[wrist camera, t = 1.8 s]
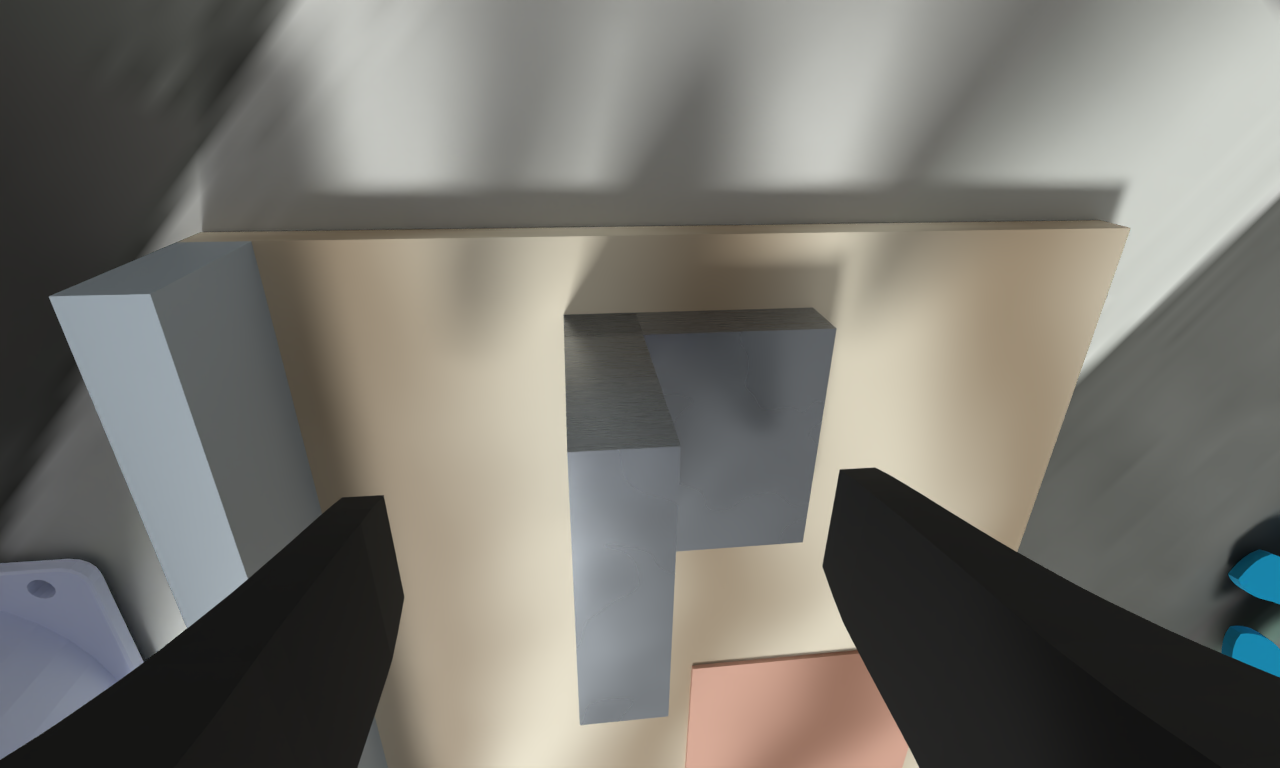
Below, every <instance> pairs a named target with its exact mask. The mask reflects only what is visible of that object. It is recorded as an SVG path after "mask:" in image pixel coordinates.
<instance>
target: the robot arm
mask: <svg viewBox="0 0 1280 768" xmlns="http://www.w3.org/2000/svg"><path fill="white" fill-rule="evenodd" d="M822 567H823V570H824V573H825V576H826V578H827V581H828V584H829V587H830V590H831V593H832V595H833V598H834V601H835V603H836V606H837V608H838V611H839V613H840V616H841V619H842V621H843V623H844V625H845V627H846V629H847V631H848V633H849V635H850V637H851V639H852V641H853V643H854V645H855V647H856V649H857V651H858V653H859V654H860V656H861V658H862V660H863V662H864V664H865V666H866V668H867V670H868V672H869V674H870V675H871V677H872V679H873V681H874V683H875V685H876V687H877V689H878V690H879V692H880V694H881V696H882V698H883V700H884V702H885V703H886V705H887V707H888V709H889V711H890V713H891V715H892V717H893V718H894V720H895V722H896V724H897V726H898V728H899V730H900V732H901V733H902V735H903V737H904V739H905V741H906V743H907V745H908V747H909V748H910V750H911V752H912V754H913V756H914V758H915V760H916V762H917V764H918V766H919V768H1280V677H1278V676H1275V675H1273V674H1270V673H1268V672H1265V671H1263V670H1261V669H1258V668H1256V667H1253V666H1251V665H1248V664H1246V663H1244V662H1241V661H1239V660H1236V659H1234V658H1232V657H1229V656H1227V655H1224V654H1222V653H1220V652H1217V651H1215V650H1212V649H1210V648H1208V647H1205V646H1203V645H1201V644H1198V643H1196V642H1194V641H1192V640H1189V639H1187V638H1185V637H1183V636H1180V635H1178V634H1176V633H1174V632H1171V631H1169V630H1167V629H1165V628H1163V627H1161V626H1158V625H1156V624H1154V623H1152V622H1150V621H1148V620H1146V619H1144V618H1142V617H1140V616H1138V615H1136V614H1133V613H1131V612H1129V611H1127V610H1125V609H1123V608H1121V607H1119V606H1117V605H1115V604H1113V603H1111V602H1108V601H1106V600H1104V599H1102V598H1101V597H1099V596H1097V595H1095V594H1093V593H1091V592H1089V591H1087V590H1085V589H1083V588H1081V587H1079V586H1077V585H1075V584H1074V583H1072V582H1070V581H1068V580H1066V579H1064V578H1063V577H1061V576H1059V575H1057V574H1055V573H1054V572H1052V571H1050V570H1048V569H1046V568H1044V567H1043V566H1041V565H1039V564H1037V563H1035V562H1034V561H1032V560H1030V559H1028V558H1026V557H1025V556H1023V555H1021V554H1020V553H1018V552H1016V551H1014V550H1013V549H1011V548H1009V547H1007V546H1006V545H1004V544H1002V543H1001V542H999V541H997V540H996V539H994V538H992V537H991V536H989V535H987V534H986V533H984V532H982V531H981V530H979V529H977V528H976V527H974V526H972V525H971V524H969V523H968V522H966V521H964V520H963V519H961V518H959V517H958V516H956V515H955V514H953V513H951V512H950V511H948V510H947V509H945V508H943V507H942V506H940V505H938V504H937V503H935V502H934V501H932V500H930V499H929V498H927V497H926V496H924V495H922V494H921V493H919V492H917V491H916V490H914V489H913V488H911V487H909V486H908V485H906V484H904V483H903V482H901V481H899V480H898V479H896V478H894V477H892V476H891V475H889V474H887V473H885V472H883V471H881V470H879V469H877V468H875V467H874V468H856V469H840V470H839V476H838V481H837V487H836V492H835V498H834V504H833V509H832V515H831V520H830V526H829V531H828V537H827V542H826V548H825V553H824V559H823V564H822ZM45 581H46V582H45ZM47 582H48V583H47ZM403 603H404V592H403V587H402V582H401V577H400V572H399V567H398V563H397V558H396V553H395V548H394V543H393V538H392V533H391V528H390V523H389V519H388V514H387V509H386V504H385V499H384V495H375V496H358V497H342V498H341V499H339V500H338V501H337V502H336V503H334V504H333V505H332V506H331V507H330V508H328V509H327V510H326V511H325V512H324V513H323V514H321V515H320V516H319V517H318V518H317V519H316V520H315V521H313V522H312V523H311V524H310V525H309V526H308V527H307V528H306V529H304V530H303V531H302V532H301V533H300V534H299V535H298V536H297V537H295V538H294V539H293V540H292V541H291V542H290V543H289V544H288V545H286V546H285V547H284V548H283V549H282V550H281V551H280V552H278V553H277V554H276V555H275V556H274V557H273V558H272V559H270V560H269V561H268V562H267V563H266V564H265V565H263V566H262V567H261V568H260V569H259V570H258V571H257V572H255V573H254V574H253V575H252V576H251V577H250V578H248V579H247V580H246V581H245V582H244V583H243V584H241V585H240V586H239V587H238V588H237V589H236V590H234V591H233V592H232V593H231V594H230V595H228V596H227V597H226V598H225V599H223V600H222V601H221V602H220V603H218V604H217V605H216V606H215V607H213V608H212V609H211V610H210V611H208V612H207V613H206V614H205V615H203V616H202V617H201V618H200V619H198V620H197V621H196V622H195V623H193V624H192V625H191V626H190V627H188V628H187V629H186V630H185V631H183V632H182V633H181V634H180V635H178V636H177V637H176V638H175V639H173V640H172V641H171V642H170V643H168V644H167V645H166V646H165V647H163V648H162V649H161V650H160V651H158V652H157V653H156V654H154V655H153V656H152V657H150V658H149V659H148V660H146V661H145V662H143V660H142V657H141V655H140V653H139V651H138V649H137V647H136V645H135V643H134V641H133V638H132V636H131V634H130V632H129V630H128V628H127V626H126V624H125V622H124V619H123V617H122V615H121V613H120V611H119V609H118V607H117V605H116V603H115V600H114V598H113V596H112V594H111V592H110V590H109V588H108V586H107V584H106V582H105V579H104V577H103V575H102V574H101V572H100V571H99V570H98V568H97V567H96V566H94V565H93V564H91V563H90V562H87V561H83V560H80V559H57V560H42V561H27V562H12V563H0V768H358V765H359V762H360V759H361V756H362V753H363V750H364V746H365V743H366V740H367V737H368V734H369V731H370V728H371V725H372V722H373V719H374V716H375V713H376V710H377V707H378V704H379V701H380V698H381V694H382V691H383V688H384V685H385V682H386V679H387V676H388V673H389V669H390V666H391V663H392V659H393V654H394V650H395V645H396V640H397V635H398V630H399V625H400V619H401V614H402V608H403Z"/></svg>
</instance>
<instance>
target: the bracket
mask: <svg viewBox="0 0 1280 768" xmlns="http://www.w3.org/2000/svg"><path fill="white" fill-rule="evenodd" d="M563 316H564V353H565V390H566V427H567V459H568V481H569V502H570V524H571V546H572V567H573V589H574V610H575V632H576V654H577V675H578V697H579V719H580V725H589V724H599V723H609V722H618V721H628V720H638V719H648V718H657V717H667V716H668V714H669V693H670V671H671V650H672V628H673V607H674V586H675V564H676V552H677V551H691V550H705V549H719V548H733V547H746V546H760V545H774V544H788V543H802V542H803V538H804V532H805V526H806V519H807V513H808V507H809V500H810V494H811V488H812V481H813V475H814V469H815V462H816V456H817V450H818V443H819V437H820V431H821V424H822V418H823V412H824V405H825V399H826V393H827V386H828V380H829V374H830V367H831V361H832V355H833V348H834V342H835V336H836V330H837V328H836V327H834V326H833V325H832V324H831V323H830V322H829V321H828V320H827V319H825V318H824V317H823V316H822V315H821V314H820V313H819V312H817V311H816V310H815V309H814V308H813V307H811V308H777V309H742V310H707V311H673V312H638V313H603V314H569V315H563Z"/></svg>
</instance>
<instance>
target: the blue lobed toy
mask: <svg viewBox="0 0 1280 768" xmlns="http://www.w3.org/2000/svg"><path fill="white" fill-rule="evenodd" d="M1228 575H1229V577H1230V579H1231V580H1232V581H1233V583H1234V584H1235V585H1237V586H1238V587H1240V588H1241V589H1243V590H1244V591H1246V592H1248V593H1249V594H1251V595H1253V596H1255V597H1258V598H1260V599H1264V600H1268V601H1272V602H1275V603H1277V604H1280V557H1279V556H1277V555H1274V554H1272V553H1269V552H1267V551H1264V550H1260V549H1259V550H1256V551H1254V552H1252V553H1250V554H1248V555H1247V556H1245V557H1244V558H1242V559H1241V560H1240V561H1239V562H1238V563H1237V564H1236V565H1235V566H1234V567H1233V568H1232V570H1231V571H1230V572H1229V573H1228ZM1222 654H1224V655H1227V656H1229V657H1232V658H1234V659H1236V660H1239V661H1241V662H1244V663H1246V664H1248V665H1251V666H1253V667H1256V668H1258V669H1261V670H1263V671H1265V672H1268V673H1270V674H1273V675H1275V676H1278V677H1280V649H1279V648H1278V647H1277V646H1276V645H1275V644H1274V643H1273V642H1272V641H1270V640H1269V639H1267V638H1266V637H1264V636H1263V635H1262V634H1260V633H1259V632H1257V631H1256V630H1253V629H1251V628H1248V627H1245V626H1237V625H1236V626H1230V627H1229V629H1228V630H1227V632H1226V633H1225V636H1224V639H1223V644H1222Z"/></svg>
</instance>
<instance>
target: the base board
mask: <svg viewBox="0 0 1280 768" xmlns="http://www.w3.org/2000/svg"><path fill="white" fill-rule="evenodd" d="M1129 231H1130V228H1128V227H1124V226H1121V225H1117V224H1113V223H1109V222H1105V221H1101V220H1081V221H1007V222H932V223H857V224H782V225H707V226H632V227H557V228H482V229H407V230H332V231H257V232H200V233H198V234H195V235H193V236H190V237H188V238H186V239H183V240H181V241H179V242H235V241H251V242H252V246H253V250H254V254H255V258H256V261H257V265H258V269H259V273H260V277H261V281H262V284H263V288H264V292H265V296H266V300H267V304H268V308H269V311H270V315H271V319H272V323H273V327H274V331H275V335H276V338H277V342H278V346H279V350H280V354H281V358H282V361H283V365H284V369H285V373H286V377H287V381H288V385H289V388H290V392H291V396H292V400H293V404H294V408H295V412H296V415H297V419H298V423H299V427H300V431H301V435H302V438H303V442H304V446H305V450H306V454H307V458H308V462H309V465H310V469H311V473H312V477H313V481H314V485H315V489H316V492H317V496H318V500H319V504H320V508H321V512H322V514H323V513H324V512H325V511H326V510H327V509H328V508H330V507H331V506H332V505H333V504H334V503H336V502H337V501H338V500H339V499H341V498H342V497H358V496H375V495H384V499H385V504H386V509H387V514H388V519H389V523H390V528H391V533H392V538H393V543H394V548H395V553H396V558H397V563H398V567H399V572H400V577H401V582H402V587H403V592H404V603H403V608H402V614H401V619H400V625H399V630H398V635H397V640H396V645H395V650H394V654H393V659H392V663H391V666H390V669H389V673H388V676H387V679H386V682H385V685H384V688H383V691H382V694H381V698H380V701H379V704H378V707H377V710H376V713H375V720H376V723H377V727H378V731H379V735H380V739H381V743H382V747H383V750H384V754H385V758H386V762H387V766H388V768H919V766H918V764H917V762H916V760H915V758H914V756H913V754H912V752H911V750H910V748H909V747H908V745H907V743H906V741H905V739H904V737H903V735H902V733H901V732H900V730H899V728H898V726H897V724H896V722H895V720H894V718H893V717H892V715H891V713H890V711H889V709H888V707H887V705H886V703H885V702H884V700H883V698H882V696H881V694H880V692H879V690H878V689H877V687H876V685H875V683H874V681H873V679H872V677H871V675H870V674H869V672H868V670H867V668H866V666H865V664H864V662H863V660H862V658H861V656H860V654H859V653H858V651H857V649H856V647H855V645H854V643H853V641H852V639H851V637H850V635H849V633H848V631H847V629H846V627H845V625H844V623H843V621H842V619H841V616H840V613H839V611H838V608H837V606H836V603H835V601H834V598H833V595H832V593H831V590H830V587H829V584H828V581H827V578H826V576H825V573H824V570H823V567H822V564H823V559H824V553H825V548H826V542H827V537H828V531H829V526H830V520H831V515H832V509H833V504H834V498H835V492H836V487H837V481H838V476H839V470H840V469H856V468H874V467H875V468H877V469H879V470H881V471H883V472H885V473H887V474H889V475H891V476H892V477H894V478H896V479H898V480H899V481H901V482H903V483H904V484H906V485H908V486H909V487H911V488H913V489H914V490H916V491H917V492H919V493H921V494H922V495H924V496H926V497H927V498H929V499H930V500H932V501H934V502H935V503H937V504H938V505H940V506H942V507H943V508H945V509H947V510H948V511H950V512H951V513H953V514H955V515H956V516H958V517H959V518H961V519H963V520H964V521H966V522H968V523H969V524H971V525H972V526H974V527H976V528H977V529H979V530H981V531H982V532H984V533H986V534H987V535H989V536H991V537H992V538H994V539H996V540H997V541H999V542H1001V543H1002V544H1004V545H1006V546H1007V547H1009V548H1011V549H1013V550H1014V551H1016V552H1017V551H1018V548H1019V545H1020V543H1021V540H1022V537H1023V534H1024V531H1025V528H1026V525H1027V523H1028V520H1029V517H1030V514H1031V511H1032V508H1033V505H1034V503H1035V500H1036V497H1037V494H1038V491H1039V488H1040V485H1041V483H1042V480H1043V477H1044V474H1045V471H1046V468H1047V465H1048V463H1049V460H1050V457H1051V454H1052V451H1053V448H1054V445H1055V443H1056V440H1057V437H1058V434H1059V431H1060V428H1061V425H1062V423H1063V420H1064V417H1065V414H1066V411H1067V408H1068V405H1069V403H1070V400H1071V397H1072V394H1073V391H1074V388H1075V386H1076V383H1077V380H1078V377H1079V374H1080V371H1081V368H1082V366H1083V363H1084V360H1085V357H1086V354H1087V351H1088V348H1089V346H1090V343H1091V340H1092V337H1093V334H1094V331H1095V328H1096V326H1097V323H1098V320H1099V317H1100V314H1101V311H1102V308H1103V306H1104V303H1105V300H1106V297H1107V294H1108V291H1109V288H1110V286H1111V283H1112V280H1113V277H1114V274H1115V271H1116V268H1117V266H1118V263H1119V260H1120V257H1121V254H1122V251H1123V248H1124V246H1125V243H1126V240H1127V237H1128V234H1129ZM811 307H813V308H814V309H815V310H816V311H817V312H819V313H820V314H821V315H822V316H823V317H824V318H825V319H827V320H828V321H829V322H830V323H831V324H832V325H833V326H834V327H836V328H837V330H836V336H835V342H834V348H833V355H832V361H831V367H830V374H829V380H828V386H827V393H826V399H825V405H824V412H823V418H822V424H821V431H820V437H819V443H818V450H817V456H816V462H815V469H814V475H813V481H812V488H811V494H810V500H809V507H808V513H807V519H806V526H805V532H804V538H803V542H802V543H788V544H774V545H760V546H746V547H733V548H719V549H705V550H691V551H677V552H676V564H675V586H674V607H673V628H672V650H671V671H670V693H669V714H668V716H667V717H657V718H648V719H638V720H628V721H618V722H609V723H599V724H589V725H580V719H579V697H578V675H577V654H576V632H575V610H574V589H573V567H572V546H571V524H570V502H569V481H568V459H567V427H566V390H565V353H564V316H563V315H569V314H603V313H638V312H673V311H707V310H742V309H777V308H811Z"/></svg>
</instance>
